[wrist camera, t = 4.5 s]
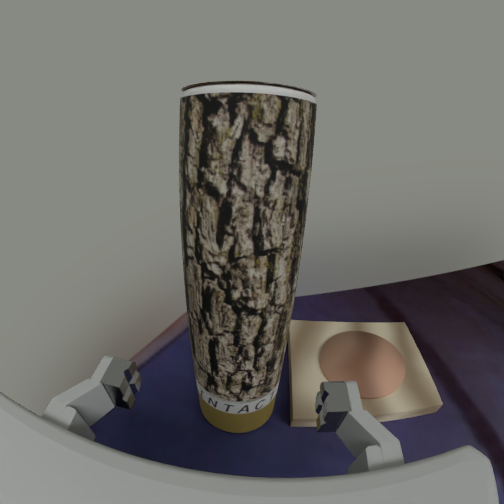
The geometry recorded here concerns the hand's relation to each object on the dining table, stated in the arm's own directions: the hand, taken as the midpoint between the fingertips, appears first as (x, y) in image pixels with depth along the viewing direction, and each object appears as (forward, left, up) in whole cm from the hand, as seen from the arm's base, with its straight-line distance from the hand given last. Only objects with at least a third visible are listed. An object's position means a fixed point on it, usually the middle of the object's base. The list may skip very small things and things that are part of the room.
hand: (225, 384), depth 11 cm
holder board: (-13, -12, -13) cm, 22 cm away
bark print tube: (0, -7, -14) cm, 15 cm away
